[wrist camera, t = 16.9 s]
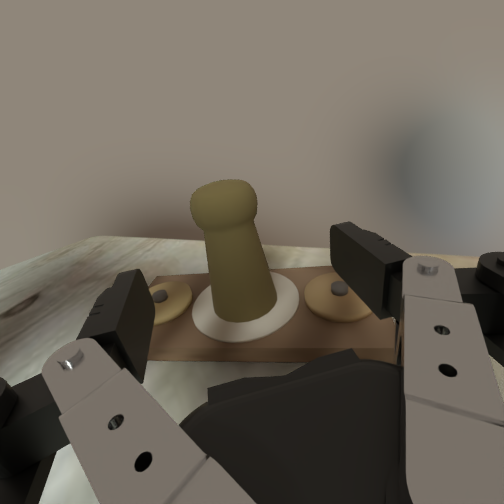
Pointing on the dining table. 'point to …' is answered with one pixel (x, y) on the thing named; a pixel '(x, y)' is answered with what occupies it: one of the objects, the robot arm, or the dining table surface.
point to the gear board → (268, 321)
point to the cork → (233, 250)
